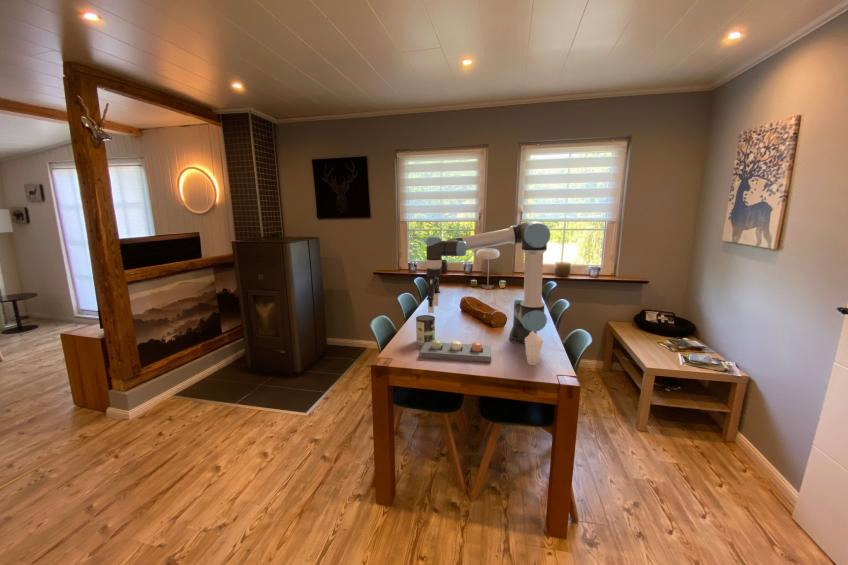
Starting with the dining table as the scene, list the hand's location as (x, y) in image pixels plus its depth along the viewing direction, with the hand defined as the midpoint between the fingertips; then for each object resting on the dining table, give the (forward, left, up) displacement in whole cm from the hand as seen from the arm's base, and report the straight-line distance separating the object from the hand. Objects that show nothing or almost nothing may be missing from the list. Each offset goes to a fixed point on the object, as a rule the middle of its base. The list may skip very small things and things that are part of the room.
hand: (433, 309), depth 175 cm
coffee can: (+6, -8, -22) cm, 24 cm away
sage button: (-2, +6, -19) cm, 20 cm away
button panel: (-12, +6, -21) cm, 25 cm away
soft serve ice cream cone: (-48, +11, -22) cm, 54 cm away
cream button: (-12, +6, -19) cm, 23 cm away
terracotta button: (-22, +6, -19) cm, 30 cm away
